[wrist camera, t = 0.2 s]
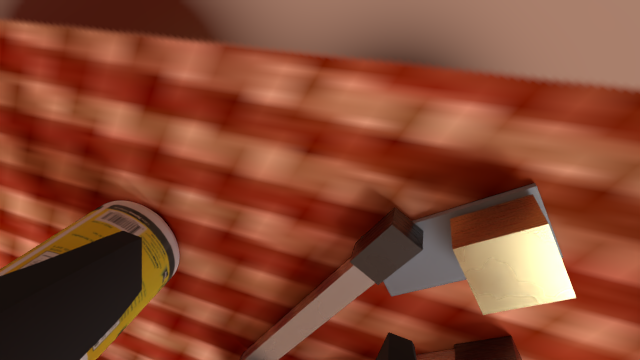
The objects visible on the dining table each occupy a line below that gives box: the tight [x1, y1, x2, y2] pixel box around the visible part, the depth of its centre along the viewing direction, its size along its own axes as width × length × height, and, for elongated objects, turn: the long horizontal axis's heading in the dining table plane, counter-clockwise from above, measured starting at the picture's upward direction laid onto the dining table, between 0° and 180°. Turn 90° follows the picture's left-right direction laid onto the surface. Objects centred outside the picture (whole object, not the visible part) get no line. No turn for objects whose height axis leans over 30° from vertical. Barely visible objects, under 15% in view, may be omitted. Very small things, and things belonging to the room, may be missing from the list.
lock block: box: [450, 194, 576, 315], centre depth 16 cm, size 4×4×2 cm
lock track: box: [361, 183, 563, 296], centre depth 18 cm, size 4×8×1 cm, turn 119°
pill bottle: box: [0, 200, 180, 360], centre depth 19 cm, size 6×6×11 cm
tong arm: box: [240, 208, 423, 360], centre depth 21 cm, size 3×17×3 cm, turn 143°
